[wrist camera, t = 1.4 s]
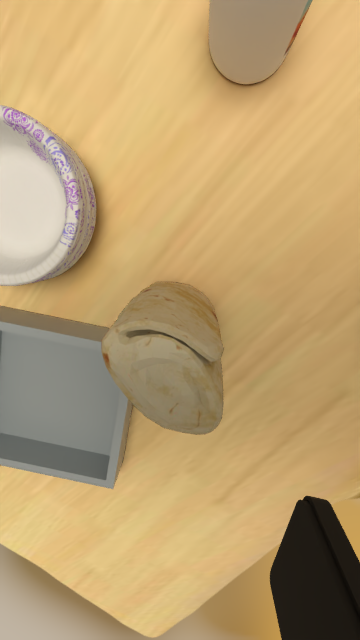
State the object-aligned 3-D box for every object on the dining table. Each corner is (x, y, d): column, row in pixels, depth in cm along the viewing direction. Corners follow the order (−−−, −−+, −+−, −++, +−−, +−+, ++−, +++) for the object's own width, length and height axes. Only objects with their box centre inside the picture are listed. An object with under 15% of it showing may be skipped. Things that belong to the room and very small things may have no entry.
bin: (144, 335, 38) (136, 349, 33) (123, 460, 43) (113, 489, 38) (-1, 305, 38) (-31, 315, 33) (-7, 433, 43) (-34, 457, 38)
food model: (134, 301, 37) (60, 368, 18) (173, 259, 36) (139, 283, 16) (193, 357, 38) (186, 476, 19) (233, 318, 37) (270, 406, 17)
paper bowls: (-54, 200, 36) (-125, 189, 28) (36, 99, 32) (-14, 55, 25) (41, 303, 38) (0, 319, 30) (134, 217, 35) (116, 211, 27)
